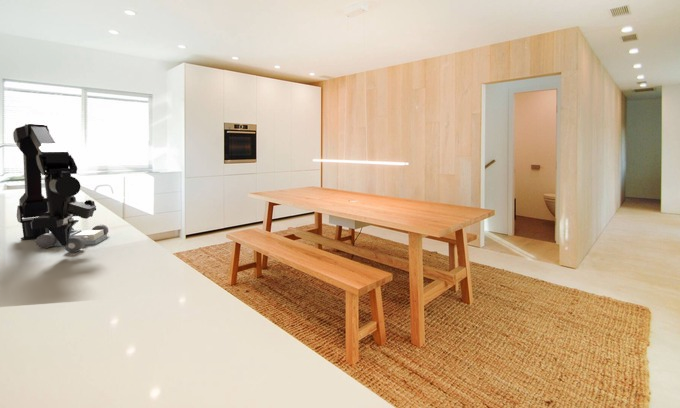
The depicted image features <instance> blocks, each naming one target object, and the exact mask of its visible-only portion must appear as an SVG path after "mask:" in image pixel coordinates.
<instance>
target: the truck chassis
mask: <svg viewBox="0 0 680 408" xmlns="http://www.w3.org/2000/svg"><path fill="white" fill-rule="evenodd" d="M108 233H109V227H108V226H107V225H105V224H98V225H96V226H93V227H92V229H87V230H86V229H85V230H82V229H79V230H78V229H74V227H72V229H71V232H70V237H69V239H70V238H72V237H80V238H81V239H82V240H83V241H84V246H85V245H86V246H87V245H97V244H99V243H100V242H102V241H105V240H106V239H108ZM35 245H36V246H37V247H38V248H40V249H43V250H44V249H49V248H50V247H63V246H62V245H61V244H60V242H59V241H58V240H57V239H56V237H55V236H54V235H53V234H52V233H51V232H50V233H46V234H43V235H41V236H39V237H37V239H35Z"/></svg>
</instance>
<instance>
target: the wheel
mask: <svg viewBox="0 0 680 408" xmlns="http://www.w3.org/2000/svg"><path fill="white" fill-rule="evenodd" d="M84 247H85V245H84V241H83V240H82V239H81V238H80V237H72V238H70V239H69V241H68V245H66V246H63V248H64V250H65V251H66V252H68V253H73V254H74V253H76V252H78V251H80V250H82V249H83V248H84Z"/></svg>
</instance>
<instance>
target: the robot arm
mask: <svg viewBox="0 0 680 408" xmlns="http://www.w3.org/2000/svg"><path fill="white" fill-rule="evenodd" d="M12 136H13V141H14V143H15V144H16V146H17V147H18V149H19V151H20V152H21V153H22V154H23V155H22V156H23V157H22V158H23V176H24V179H23V180H24V193H23V195H21V197H20V198H19V199H18V200H19V205H17V210H16V220H17V222H18V223H19V224H21V228H22V235H23V236H22V237H21V238H20V240H36V239H37V237H39V236H41V235H43V234H46V233H52V234H53V235H54V236H55V237H56V239H57V240H58V241H59V242H60V244H61V245H62V246H61V247H64V246H66V245H68V241H69V237H70V232H71V229H72V228H73V227H74V226H75V225H76V224H77V223H78V222H79V220H78V219H75V220H74V217H79V218H82V219H85V220H86V219H89V218H92V217H93V216H94V212H95V211H97V206H96V204H95V200H92V199H87V200H85V201H77V199H76V197H75V196H76V195H77V194H78V193H79V192H80V190H81V183H80V181H79V180H78V179H77V178H76V177H74V176H72V175H73V174H74V175H76V174H78V172H77V171H78V167H77V164H76V162H75V159H74V158H73V156H72V154H70V153H69V152H68V150H67V149H66V148H65V147H62V146H59V145H57V144H56V142H55V140H54V138H53V137H52V135H51V134H50V130H49V128H48V125H47V124H45V123H38V122H36V123H35V122H28V123H25V124H24V125H23V126H19V127H16V128H15V129H14V130H13V133H12ZM42 176H44V179H43V181H44V187H45V189H44V190H45V195H46V197H45V196H44V195H43V193H42V192H43V190H42V187H43V186H42Z"/></svg>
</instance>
